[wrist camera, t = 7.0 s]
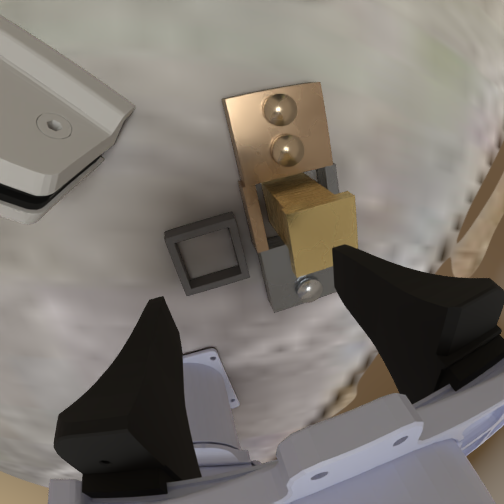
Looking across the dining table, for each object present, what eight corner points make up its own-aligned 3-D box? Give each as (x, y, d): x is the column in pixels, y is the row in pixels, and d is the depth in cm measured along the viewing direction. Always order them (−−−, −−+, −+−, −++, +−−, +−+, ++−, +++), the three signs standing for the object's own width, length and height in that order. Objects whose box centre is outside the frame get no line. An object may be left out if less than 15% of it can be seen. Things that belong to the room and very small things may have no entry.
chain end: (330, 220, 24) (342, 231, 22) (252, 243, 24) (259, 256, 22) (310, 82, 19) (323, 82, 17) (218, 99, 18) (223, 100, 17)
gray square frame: (246, 269, 25) (250, 277, 24) (185, 287, 24) (186, 296, 23) (231, 211, 22) (234, 218, 21) (164, 231, 22) (164, 239, 21)
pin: (313, 214, 24) (358, 257, 18) (264, 228, 23) (296, 277, 18) (306, 165, 22) (354, 195, 16) (254, 178, 21) (286, 214, 16)
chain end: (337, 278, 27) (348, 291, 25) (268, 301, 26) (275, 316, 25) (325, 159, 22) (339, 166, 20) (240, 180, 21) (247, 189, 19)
